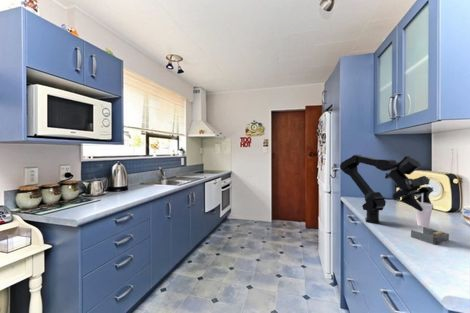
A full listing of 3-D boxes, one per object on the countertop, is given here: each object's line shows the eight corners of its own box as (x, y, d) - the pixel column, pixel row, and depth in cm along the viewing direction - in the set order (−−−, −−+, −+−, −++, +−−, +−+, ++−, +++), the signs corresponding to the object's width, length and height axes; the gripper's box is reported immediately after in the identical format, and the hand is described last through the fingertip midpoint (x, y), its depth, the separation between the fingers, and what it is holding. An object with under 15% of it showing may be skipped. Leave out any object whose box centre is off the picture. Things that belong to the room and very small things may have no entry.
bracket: (410, 236, 98) (411, 228, 98) (424, 233, 102) (424, 224, 102) (435, 244, 90) (435, 235, 90) (448, 240, 94) (448, 231, 94)
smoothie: (410, 222, 100) (411, 191, 99) (427, 224, 98) (428, 192, 98) (417, 227, 94) (418, 194, 93) (436, 229, 92) (437, 195, 91)
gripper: (400, 170, 96) (428, 201, 86) (429, 169, 102) (458, 198, 92) (382, 185, 104) (406, 215, 94) (410, 183, 109) (435, 211, 99)
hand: (427, 210), depth 94 cm, fingers closed on smoothie, 6 cm apart
